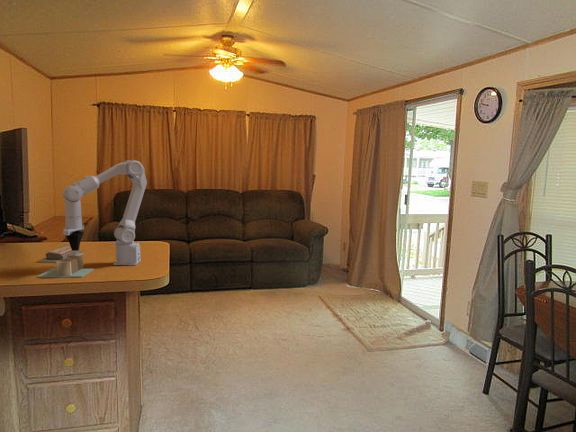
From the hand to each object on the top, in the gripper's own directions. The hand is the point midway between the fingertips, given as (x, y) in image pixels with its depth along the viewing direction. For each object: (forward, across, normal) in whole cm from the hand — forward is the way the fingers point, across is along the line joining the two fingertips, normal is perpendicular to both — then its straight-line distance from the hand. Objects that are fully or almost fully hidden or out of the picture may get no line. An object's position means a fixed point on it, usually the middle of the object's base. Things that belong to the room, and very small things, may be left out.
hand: (75, 250), depth 161 cm
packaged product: (+9, -20, -14) cm, 26 cm away
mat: (+8, +6, -1) cm, 10 cm away
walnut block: (+5, -1, 0) cm, 5 cm away
